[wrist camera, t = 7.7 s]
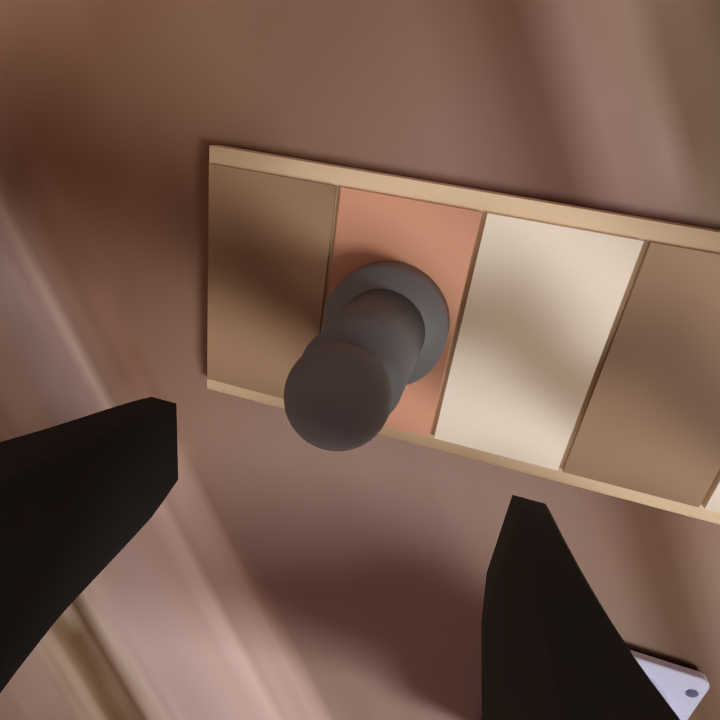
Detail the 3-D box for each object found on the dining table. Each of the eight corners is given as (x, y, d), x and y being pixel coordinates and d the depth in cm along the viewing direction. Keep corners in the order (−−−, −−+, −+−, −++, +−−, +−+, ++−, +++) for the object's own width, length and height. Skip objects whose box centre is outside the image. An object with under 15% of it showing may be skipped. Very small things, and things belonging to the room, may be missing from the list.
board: (831, 541, 19) (847, 561, 18) (216, 380, 23) (205, 390, 22) (1018, 280, 14) (1051, 289, 14) (220, 145, 19) (206, 145, 18)
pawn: (436, 386, 19) (395, 520, 12) (327, 359, 20) (232, 472, 13) (462, 274, 17) (430, 361, 11) (340, 249, 18) (237, 315, 11)
